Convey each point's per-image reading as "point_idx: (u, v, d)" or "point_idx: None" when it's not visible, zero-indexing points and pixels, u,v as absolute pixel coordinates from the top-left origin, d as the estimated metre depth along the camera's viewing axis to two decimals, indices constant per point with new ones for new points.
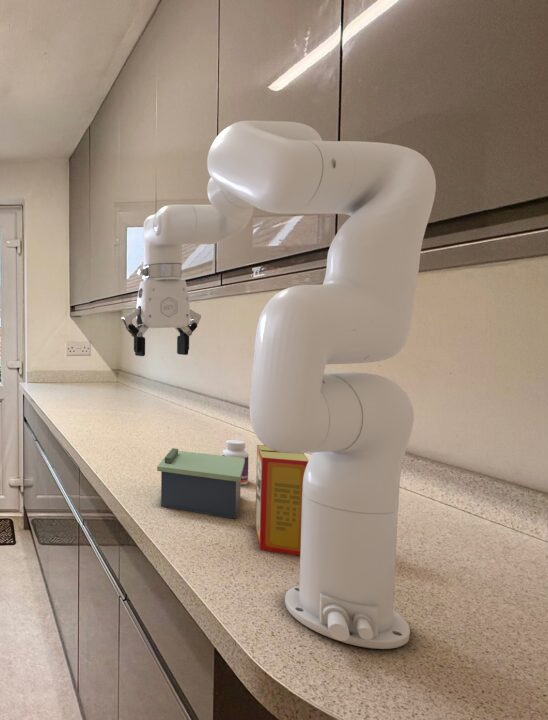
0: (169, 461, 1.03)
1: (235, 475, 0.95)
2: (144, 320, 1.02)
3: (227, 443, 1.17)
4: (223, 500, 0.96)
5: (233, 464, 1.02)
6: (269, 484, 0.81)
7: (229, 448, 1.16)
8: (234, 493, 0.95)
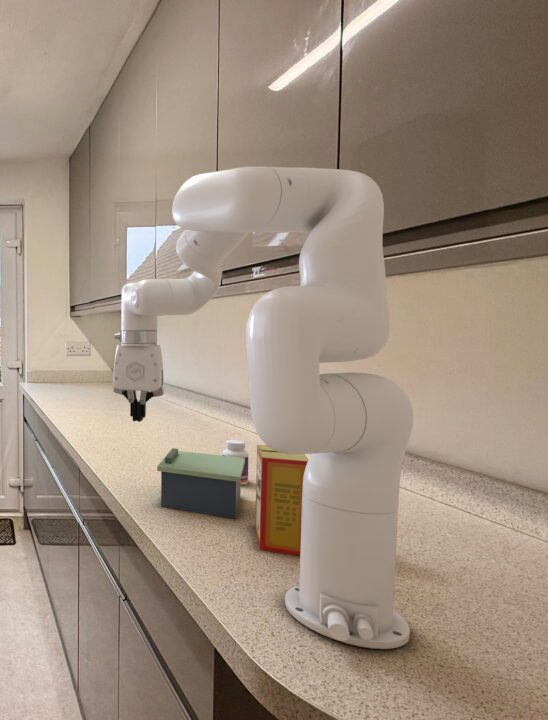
0: (169, 461, 1.03)
1: (235, 475, 0.95)
2: (113, 382, 1.11)
3: (227, 443, 1.17)
4: (223, 500, 0.96)
5: (233, 464, 1.02)
6: (269, 484, 0.81)
7: (229, 448, 1.16)
8: (234, 493, 0.95)
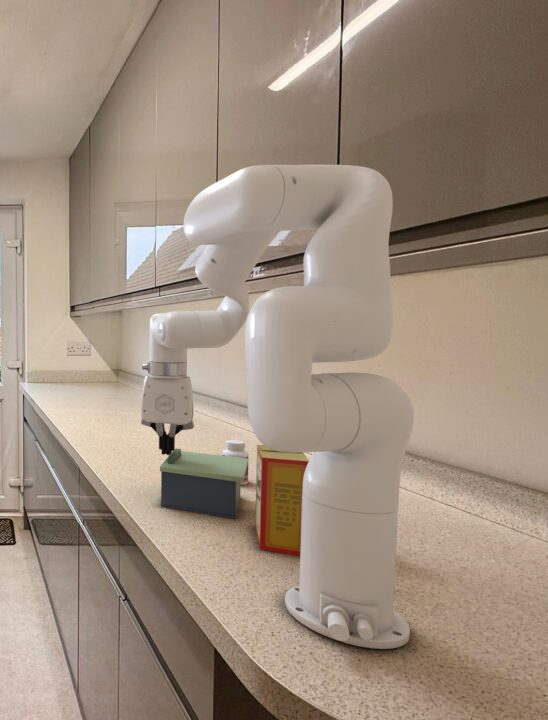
0: (172, 461, 1.03)
1: (238, 475, 0.95)
2: (141, 414, 1.08)
3: (227, 443, 1.17)
4: (223, 500, 0.96)
5: (236, 464, 1.02)
6: (269, 484, 0.81)
7: (229, 448, 1.16)
8: (234, 493, 0.95)
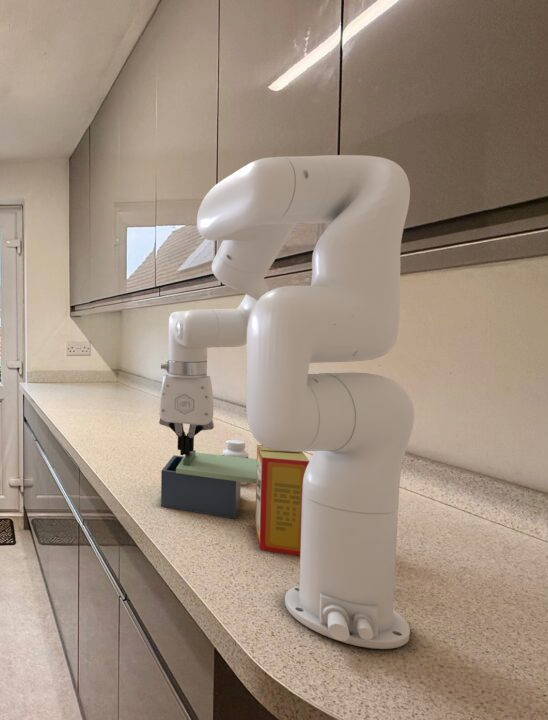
0: (188, 463, 1.02)
1: None
2: None
3: (227, 443, 1.17)
4: (223, 500, 0.96)
5: (253, 466, 1.00)
6: (269, 484, 0.81)
7: (229, 448, 1.16)
8: (234, 493, 0.95)
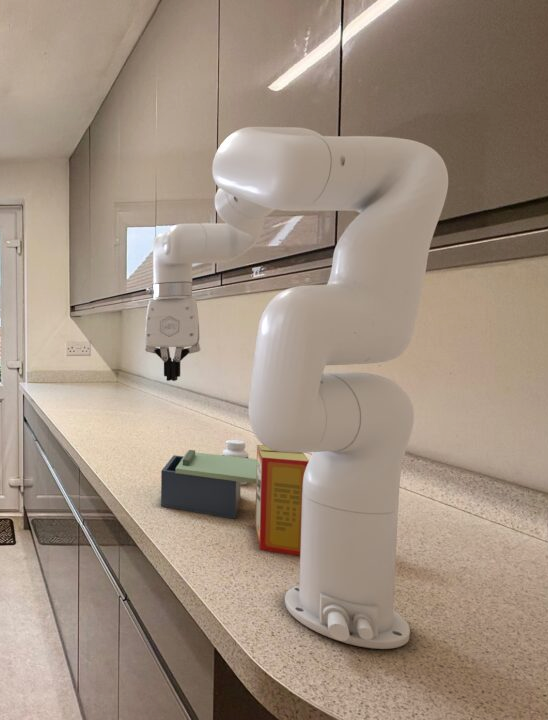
0: (187, 463, 1.02)
1: None
2: (145, 339, 1.05)
3: (227, 443, 1.17)
4: (223, 500, 0.96)
5: (252, 466, 1.00)
6: (269, 484, 0.81)
7: (229, 448, 1.16)
8: (234, 493, 0.95)
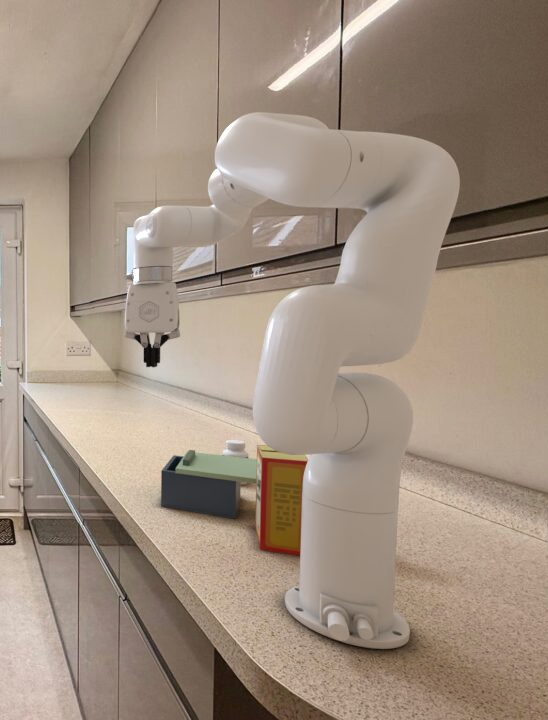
0: (187, 463, 1.02)
1: None
2: None
3: (227, 443, 1.17)
4: (223, 500, 0.96)
5: (252, 466, 1.00)
6: (269, 484, 0.81)
7: (229, 448, 1.16)
8: (234, 493, 0.95)
